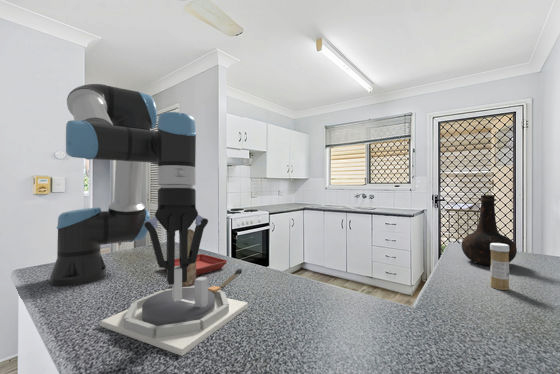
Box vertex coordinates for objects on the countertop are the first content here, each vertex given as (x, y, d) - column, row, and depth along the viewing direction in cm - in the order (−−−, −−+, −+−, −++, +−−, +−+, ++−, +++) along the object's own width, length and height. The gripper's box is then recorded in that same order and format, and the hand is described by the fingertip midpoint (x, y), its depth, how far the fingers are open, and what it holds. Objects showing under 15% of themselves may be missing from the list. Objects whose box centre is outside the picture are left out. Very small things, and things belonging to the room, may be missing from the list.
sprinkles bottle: (496, 284, 85) (496, 242, 85) (513, 289, 80) (512, 244, 80) (486, 286, 83) (486, 243, 83) (503, 291, 79) (503, 246, 79)
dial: (125, 317, 59) (126, 279, 60) (180, 292, 74) (181, 262, 74) (178, 334, 53) (178, 292, 53) (228, 303, 67) (228, 269, 67)
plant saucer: (159, 270, 100) (159, 261, 100) (201, 261, 113) (201, 253, 113) (184, 281, 88) (184, 271, 88) (228, 269, 102) (228, 260, 102)
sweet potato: (178, 290, 81) (198, 287, 84) (182, 233, 79) (203, 232, 82) (173, 281, 86) (193, 278, 90) (178, 227, 84) (197, 226, 88)
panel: (100, 326, 58) (101, 309, 59) (179, 291, 79) (179, 279, 79) (182, 356, 48) (182, 335, 48) (248, 306, 68) (248, 292, 68)
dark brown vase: (470, 267, 103) (470, 195, 103) (455, 256, 120) (455, 194, 120) (527, 272, 98) (527, 195, 98) (502, 259, 115) (502, 194, 115)
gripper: (144, 186, 50) (144, 312, 50) (212, 186, 57) (212, 297, 57) (141, 187, 57) (141, 299, 56) (203, 187, 63) (203, 287, 63)
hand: (177, 298), depth 57 cm, fingers closed
